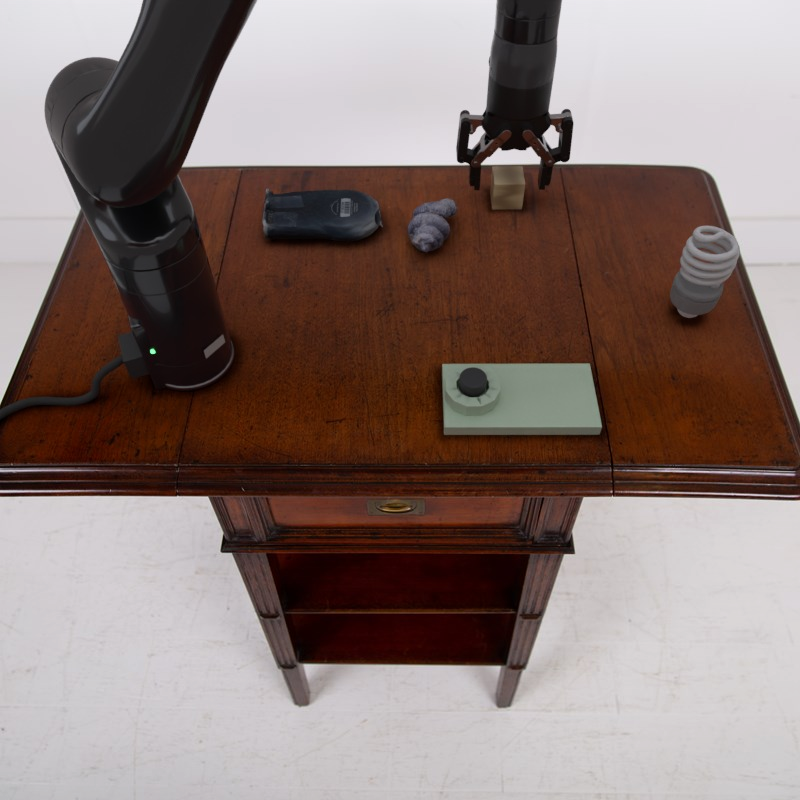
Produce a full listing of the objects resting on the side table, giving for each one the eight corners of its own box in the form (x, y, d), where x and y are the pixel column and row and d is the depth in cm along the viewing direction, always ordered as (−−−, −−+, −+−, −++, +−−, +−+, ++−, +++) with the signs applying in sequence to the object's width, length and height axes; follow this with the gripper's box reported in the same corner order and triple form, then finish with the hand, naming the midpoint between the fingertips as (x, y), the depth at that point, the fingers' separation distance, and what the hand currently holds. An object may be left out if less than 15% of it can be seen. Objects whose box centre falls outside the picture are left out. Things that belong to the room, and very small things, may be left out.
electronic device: (268, 259, 97) (383, 242, 96) (256, 222, 94) (375, 203, 92) (275, 222, 104) (382, 205, 103) (264, 185, 100) (375, 167, 99)
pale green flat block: (443, 435, 78) (444, 417, 76) (441, 371, 83) (442, 353, 81) (599, 435, 78) (605, 417, 75) (587, 371, 83) (592, 353, 81)
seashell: (434, 220, 102) (421, 272, 96) (410, 192, 99) (395, 243, 93) (466, 204, 98) (455, 256, 93) (442, 174, 95) (429, 226, 90)
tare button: (459, 397, 78) (460, 387, 77) (458, 376, 79) (459, 367, 78) (486, 397, 78) (487, 387, 76) (485, 376, 79) (486, 366, 78)
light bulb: (715, 306, 89) (751, 224, 80) (706, 338, 86) (742, 257, 76) (667, 293, 91) (696, 211, 81) (656, 324, 87) (685, 242, 78)
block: (491, 209, 101) (494, 184, 98) (490, 191, 103) (492, 166, 100) (521, 209, 101) (525, 184, 98) (519, 191, 103) (522, 165, 100)
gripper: (461, 87, 86) (456, 204, 98) (588, 85, 85) (566, 203, 98) (459, 53, 90) (454, 170, 103) (579, 51, 90) (559, 169, 103)
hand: (508, 186), depth 100 cm, fingers open, 8 cm apart
